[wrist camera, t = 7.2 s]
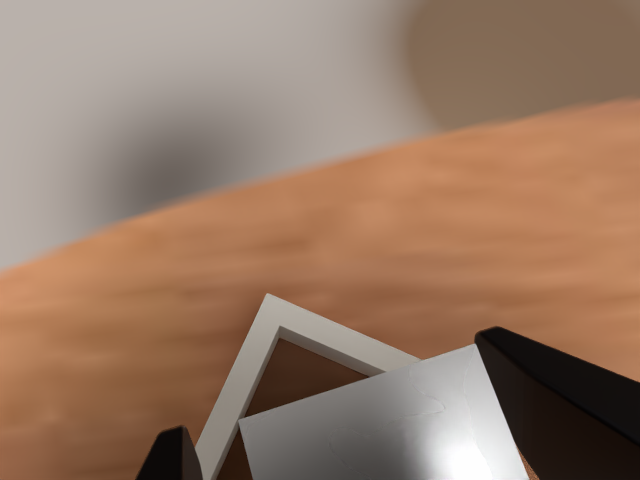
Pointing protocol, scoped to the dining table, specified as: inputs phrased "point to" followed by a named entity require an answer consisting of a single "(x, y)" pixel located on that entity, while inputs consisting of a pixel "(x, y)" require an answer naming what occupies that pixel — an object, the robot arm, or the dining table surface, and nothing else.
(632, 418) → the robot arm
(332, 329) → the grey block with hole
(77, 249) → the dining table surface
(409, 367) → the grey long block
